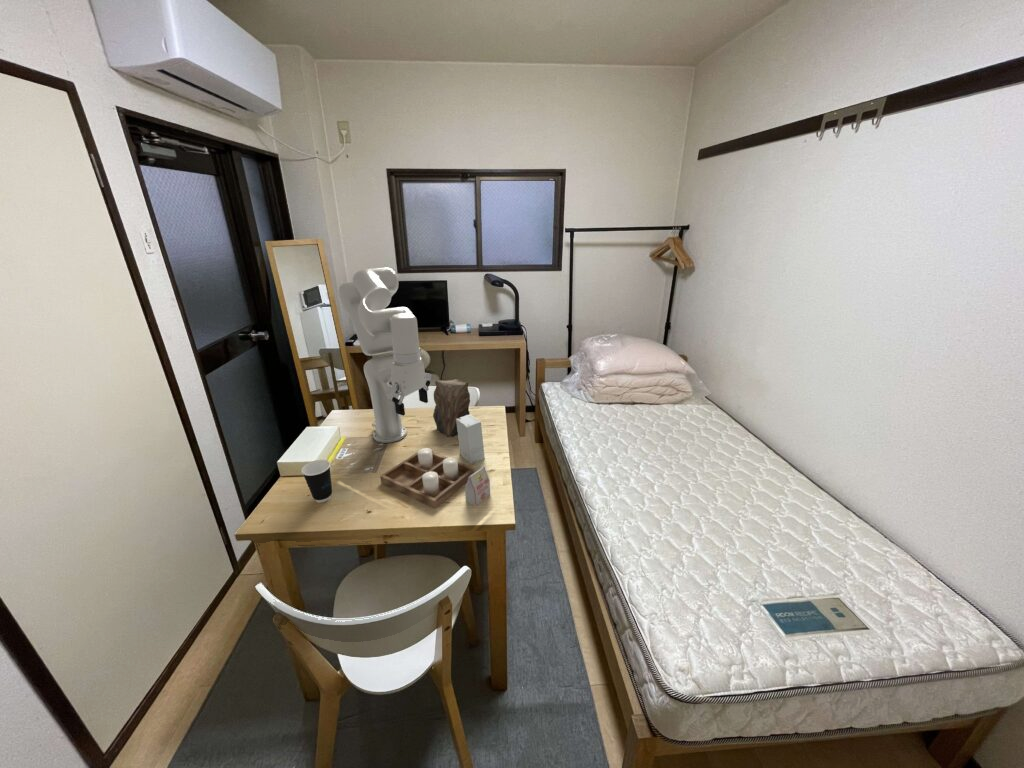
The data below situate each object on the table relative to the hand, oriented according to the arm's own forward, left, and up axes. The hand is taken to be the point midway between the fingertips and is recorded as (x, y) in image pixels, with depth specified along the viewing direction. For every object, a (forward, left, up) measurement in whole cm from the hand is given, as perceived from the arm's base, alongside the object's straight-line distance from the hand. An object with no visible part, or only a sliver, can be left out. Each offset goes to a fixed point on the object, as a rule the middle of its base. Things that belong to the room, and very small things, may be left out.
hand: (412, 407), depth 126 cm
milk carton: (+25, -1, -24) cm, 35 cm away
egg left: (+1, +2, -23) cm, 23 cm away
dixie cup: (-16, -25, -24) cm, 38 cm away
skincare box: (+9, +16, -24) cm, 30 cm away
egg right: (+12, +2, -23) cm, 26 cm away
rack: (+6, -2, -24) cm, 24 cm away
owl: (-10, +27, -24) cm, 37 cm away
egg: (+12, -7, -23) cm, 27 cm away
